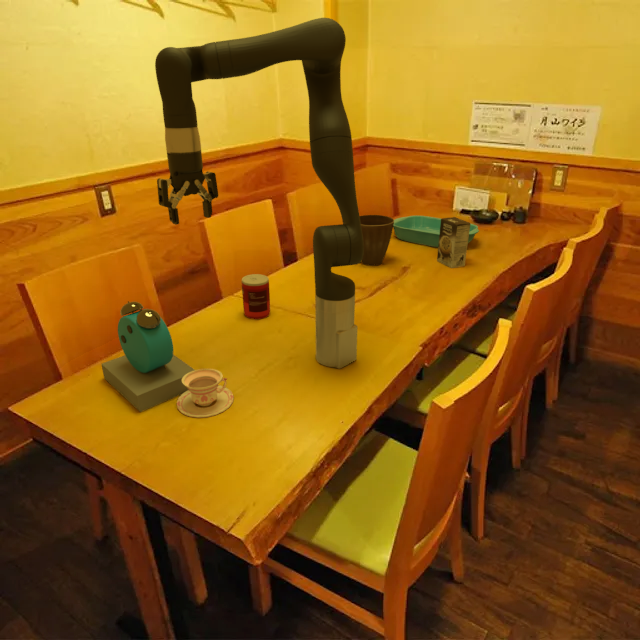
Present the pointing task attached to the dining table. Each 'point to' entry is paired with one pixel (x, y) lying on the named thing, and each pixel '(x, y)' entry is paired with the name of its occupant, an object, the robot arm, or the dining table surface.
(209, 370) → the teacup
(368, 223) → the plant pot
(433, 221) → the casserole dish
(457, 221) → the coffee box
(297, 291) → the dining table surface
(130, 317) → the alarm clock
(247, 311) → the canned food
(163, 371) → the plinth
